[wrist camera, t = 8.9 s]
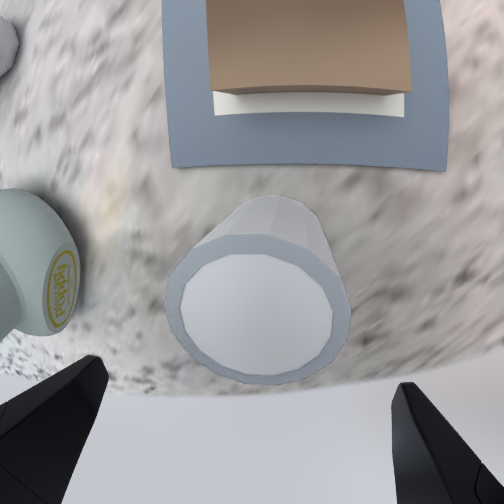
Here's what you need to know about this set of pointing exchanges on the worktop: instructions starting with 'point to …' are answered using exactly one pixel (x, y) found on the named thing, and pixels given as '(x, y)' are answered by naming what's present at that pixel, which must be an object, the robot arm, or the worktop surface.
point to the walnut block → (308, 46)
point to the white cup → (260, 295)
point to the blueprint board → (305, 106)
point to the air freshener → (35, 266)
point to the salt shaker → (7, 45)
